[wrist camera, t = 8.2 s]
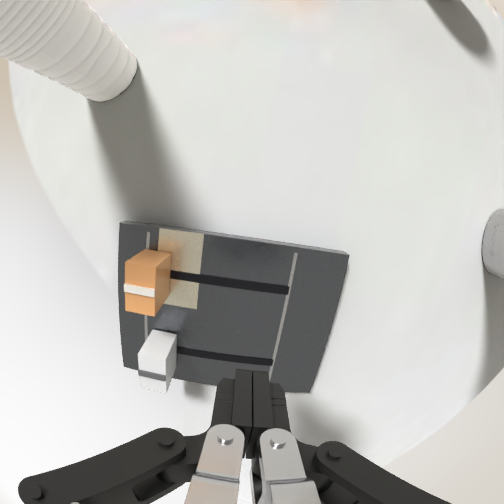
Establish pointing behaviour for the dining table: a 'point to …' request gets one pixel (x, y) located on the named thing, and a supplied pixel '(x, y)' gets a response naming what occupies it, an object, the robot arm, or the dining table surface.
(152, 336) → the white banded fader cap
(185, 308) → the console
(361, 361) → the dining table surface
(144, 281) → the fader orange
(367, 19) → the dining table surface
